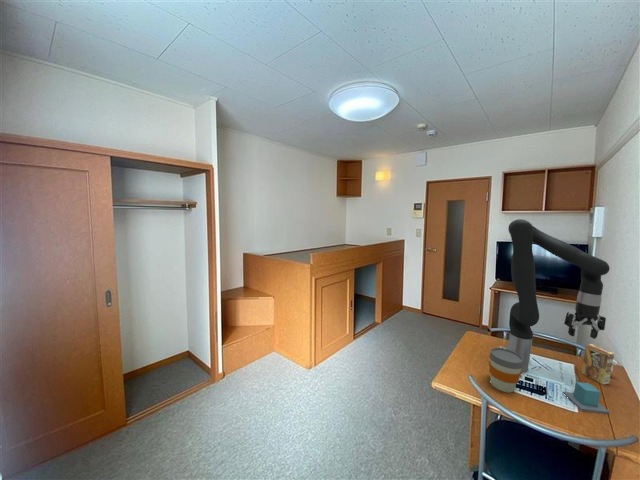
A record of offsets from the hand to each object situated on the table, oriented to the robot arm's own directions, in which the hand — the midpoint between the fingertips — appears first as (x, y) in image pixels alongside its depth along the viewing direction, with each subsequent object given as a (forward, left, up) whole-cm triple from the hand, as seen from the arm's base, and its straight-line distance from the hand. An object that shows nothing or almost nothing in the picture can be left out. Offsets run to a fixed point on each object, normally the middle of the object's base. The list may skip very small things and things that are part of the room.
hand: (582, 336), depth 122 cm
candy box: (+14, +7, -24) cm, 28 cm away
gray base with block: (-5, -13, -23) cm, 28 cm away
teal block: (-5, -13, -22) cm, 27 cm away
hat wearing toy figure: (+21, +12, -24) cm, 34 cm away
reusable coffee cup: (-34, -7, -24) cm, 42 cm away
